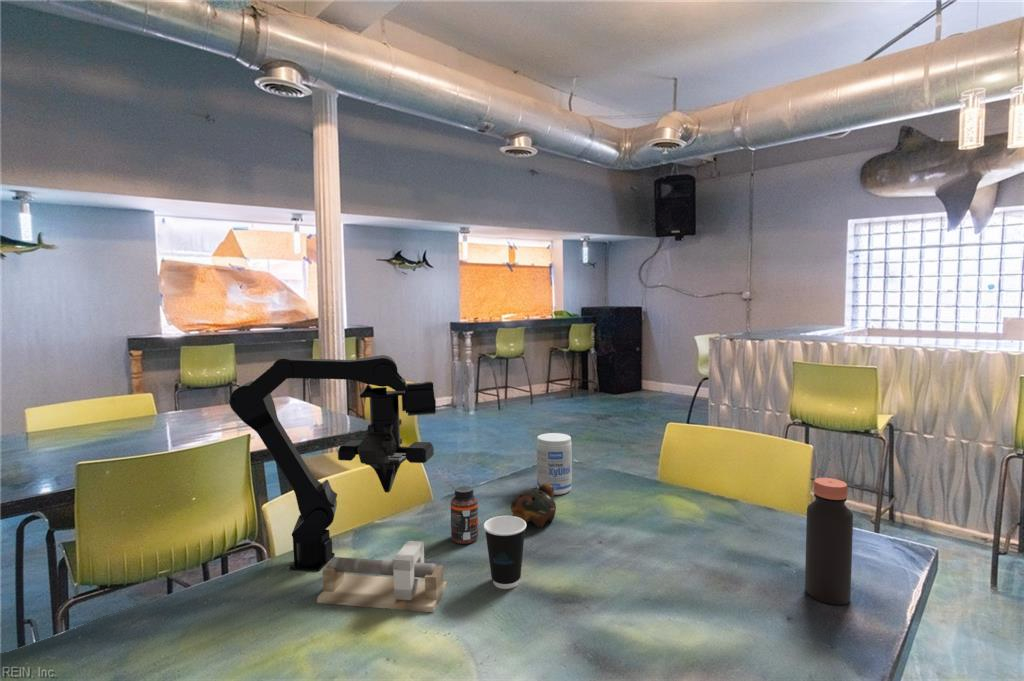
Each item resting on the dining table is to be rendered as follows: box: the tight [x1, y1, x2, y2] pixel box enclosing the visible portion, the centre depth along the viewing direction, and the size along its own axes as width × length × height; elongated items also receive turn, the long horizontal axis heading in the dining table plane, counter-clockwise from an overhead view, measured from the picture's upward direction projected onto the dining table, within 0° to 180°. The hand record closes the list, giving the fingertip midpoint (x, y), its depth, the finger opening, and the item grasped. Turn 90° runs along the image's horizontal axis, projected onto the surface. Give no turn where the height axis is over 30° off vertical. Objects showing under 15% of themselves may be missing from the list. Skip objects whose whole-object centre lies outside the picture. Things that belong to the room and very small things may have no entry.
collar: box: [392, 540, 425, 600], centre depth 92 cm, size 3×7×7 cm, turn 171°
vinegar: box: [804, 477, 854, 606], centre depth 89 cm, size 7×7×20 cm
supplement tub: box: [536, 432, 573, 496], centre depth 142 cm, size 10×10×15 cm
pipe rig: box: [316, 556, 448, 613], centre depth 93 cm, size 21×8×6 cm, turn 81°
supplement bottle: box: [450, 485, 479, 545], centre depth 114 cm, size 6×6×11 cm
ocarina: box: [510, 483, 557, 529], centre depth 121 cm, size 10×15×8 cm, turn 148°
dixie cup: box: [482, 515, 527, 590], centre depth 96 cm, size 8×8×11 cm
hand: (387, 491), depth 108 cm, fingers closed
